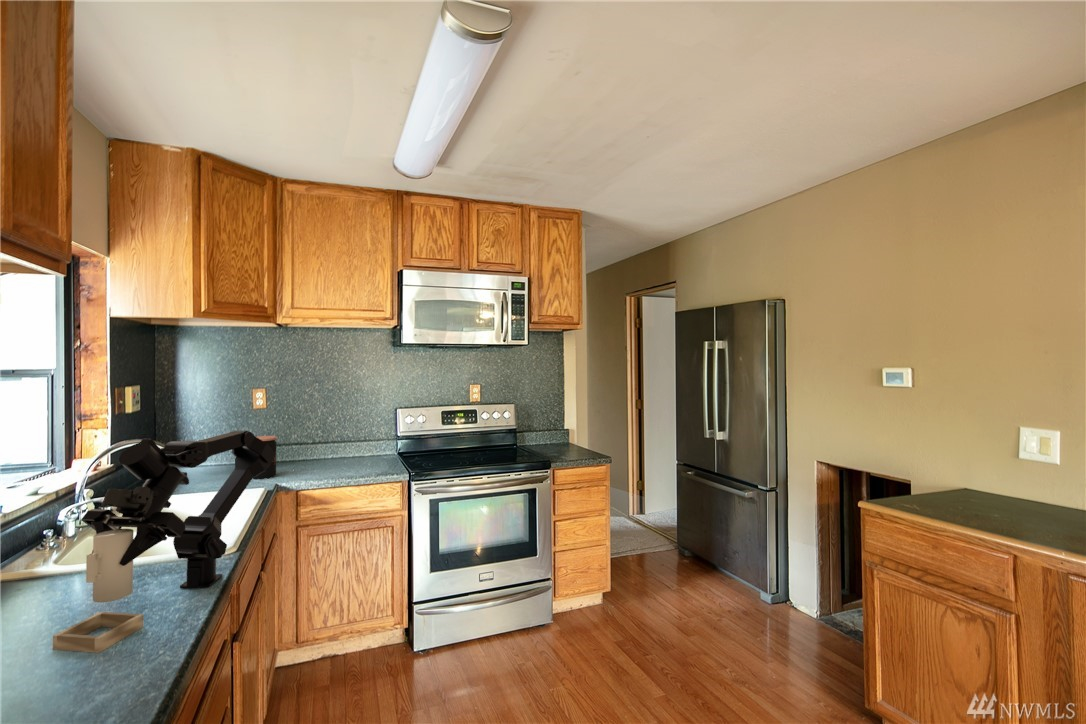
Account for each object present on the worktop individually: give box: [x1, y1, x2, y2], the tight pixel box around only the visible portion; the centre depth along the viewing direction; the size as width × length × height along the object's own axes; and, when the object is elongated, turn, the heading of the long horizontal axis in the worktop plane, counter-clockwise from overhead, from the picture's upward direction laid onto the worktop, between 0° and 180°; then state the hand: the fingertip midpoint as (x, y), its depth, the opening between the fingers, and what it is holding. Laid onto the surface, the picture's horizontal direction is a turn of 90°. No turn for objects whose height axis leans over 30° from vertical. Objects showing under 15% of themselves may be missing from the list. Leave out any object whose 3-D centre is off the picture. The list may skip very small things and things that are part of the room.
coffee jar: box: [252, 435, 277, 480], centre depth 236 cm, size 11×11×18 cm
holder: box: [52, 611, 144, 654], centre depth 98 cm, size 9×9×2 cm
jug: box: [85, 528, 134, 603], centre depth 100 cm, size 8×6×12 cm
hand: (106, 564), depth 99 cm, fingers closed on jug, 6 cm apart
